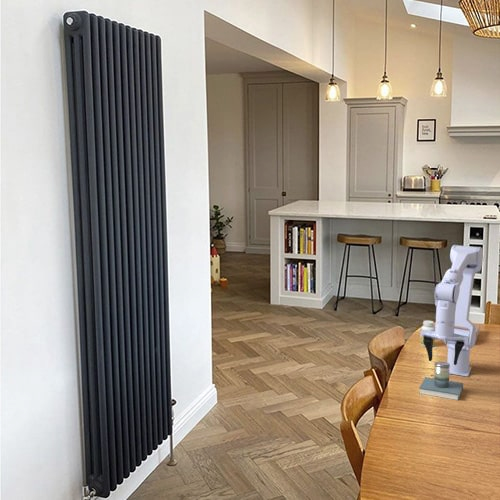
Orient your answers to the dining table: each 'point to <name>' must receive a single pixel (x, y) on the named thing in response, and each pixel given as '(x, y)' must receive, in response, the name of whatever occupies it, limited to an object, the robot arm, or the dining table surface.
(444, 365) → the tea tin
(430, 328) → the supplement bottle
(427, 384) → the hardcover book
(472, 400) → the dining table surface
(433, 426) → the dining table surface
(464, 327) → the open box
